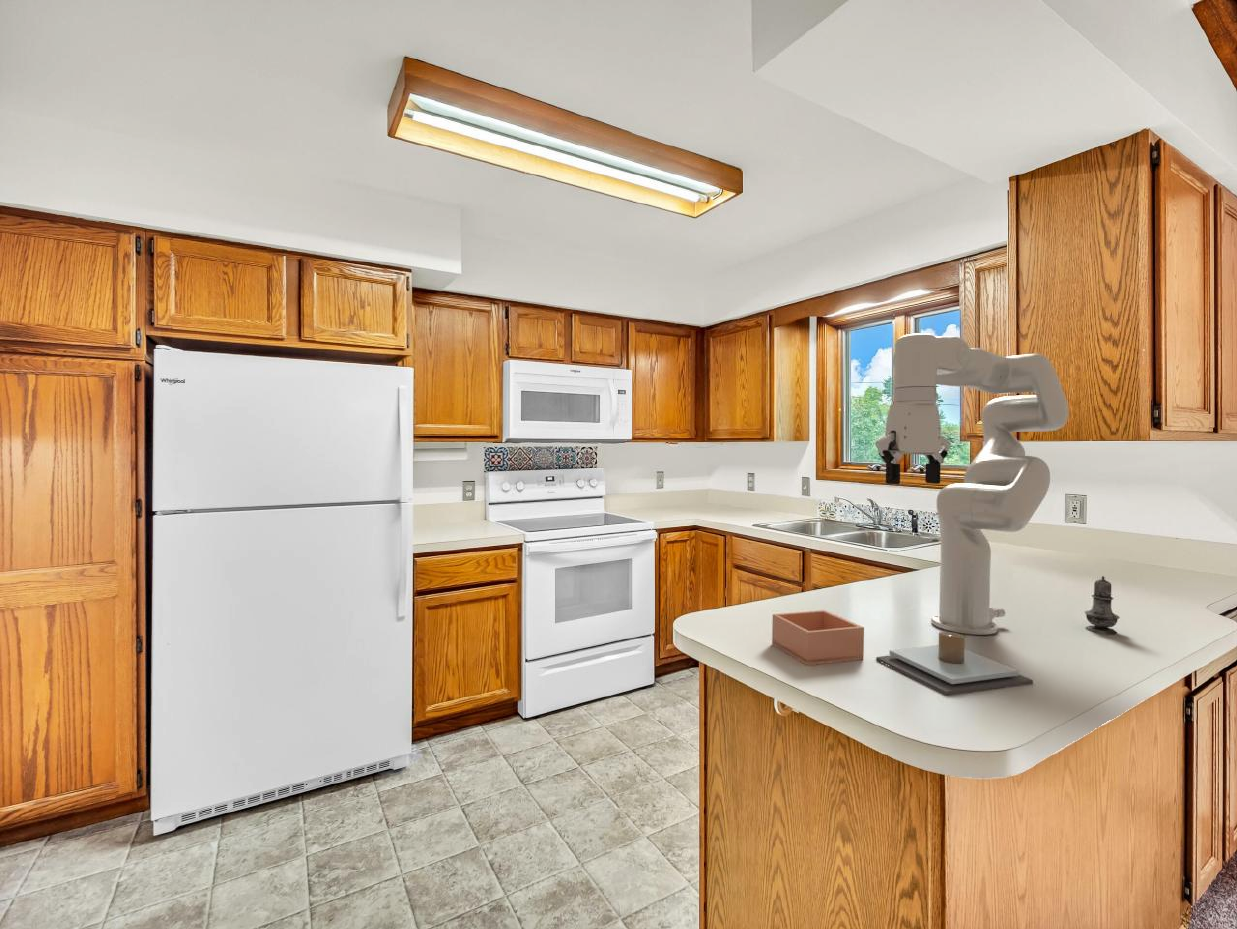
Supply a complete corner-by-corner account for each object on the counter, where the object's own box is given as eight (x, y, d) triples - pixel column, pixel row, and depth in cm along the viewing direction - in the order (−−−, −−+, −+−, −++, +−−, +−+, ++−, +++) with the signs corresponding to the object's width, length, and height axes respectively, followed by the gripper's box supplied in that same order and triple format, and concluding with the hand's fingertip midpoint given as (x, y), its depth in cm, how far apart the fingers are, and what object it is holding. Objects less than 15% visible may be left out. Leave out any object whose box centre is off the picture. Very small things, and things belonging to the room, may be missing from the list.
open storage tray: (823, 638, 121) (824, 610, 121) (863, 659, 109) (864, 627, 109) (772, 644, 117) (772, 614, 117) (807, 665, 106) (807, 632, 106)
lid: (950, 651, 112) (951, 620, 112) (1018, 678, 99) (1019, 644, 99) (889, 657, 108) (890, 626, 108) (951, 687, 95) (952, 652, 95)
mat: (953, 651, 114) (954, 648, 114) (1032, 683, 98) (1032, 680, 98) (876, 660, 109) (876, 657, 109) (946, 695, 93) (946, 691, 93)
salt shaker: (1115, 636, 123) (1117, 580, 123) (1080, 630, 128) (1082, 575, 127) (1121, 631, 127) (1123, 576, 127) (1087, 624, 131) (1089, 571, 131)
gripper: (934, 400, 123) (933, 482, 123) (865, 398, 118) (863, 483, 118) (965, 397, 115) (963, 484, 116) (892, 394, 111) (890, 485, 111)
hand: (912, 483), depth 117 cm, fingers open, 9 cm apart
